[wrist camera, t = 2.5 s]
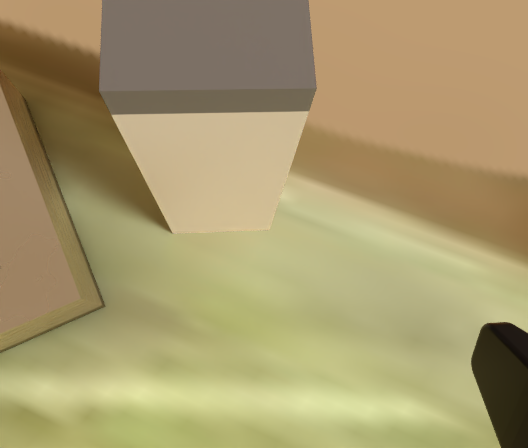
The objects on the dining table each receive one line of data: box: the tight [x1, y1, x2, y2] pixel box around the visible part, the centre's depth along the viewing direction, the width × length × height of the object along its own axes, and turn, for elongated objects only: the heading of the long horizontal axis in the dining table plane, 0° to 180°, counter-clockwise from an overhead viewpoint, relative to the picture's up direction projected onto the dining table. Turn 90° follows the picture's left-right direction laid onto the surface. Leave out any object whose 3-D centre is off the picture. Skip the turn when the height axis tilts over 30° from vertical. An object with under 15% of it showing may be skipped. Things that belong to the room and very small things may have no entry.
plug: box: [99, 0, 316, 234], centre depth 16 cm, size 4×4×12 cm
